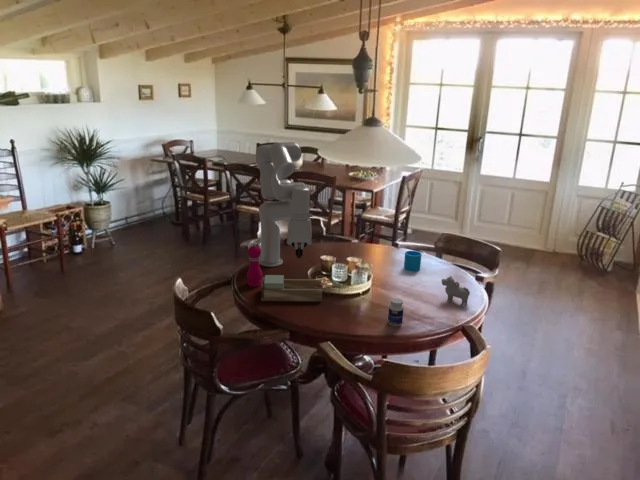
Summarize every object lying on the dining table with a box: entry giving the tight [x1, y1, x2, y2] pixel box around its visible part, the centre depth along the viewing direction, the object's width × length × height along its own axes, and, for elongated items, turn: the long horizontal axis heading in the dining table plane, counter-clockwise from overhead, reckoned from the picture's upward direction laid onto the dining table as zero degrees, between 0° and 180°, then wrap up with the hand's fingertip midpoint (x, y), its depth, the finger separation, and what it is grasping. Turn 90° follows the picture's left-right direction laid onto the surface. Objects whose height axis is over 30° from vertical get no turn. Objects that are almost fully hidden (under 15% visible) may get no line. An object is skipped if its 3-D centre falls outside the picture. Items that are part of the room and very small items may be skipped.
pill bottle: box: [387, 297, 404, 327], centre depth 207 cm, size 6×6×10 cm
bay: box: [260, 276, 323, 302], centre depth 230 cm, size 12×26×6 cm, turn 93°
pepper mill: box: [246, 242, 264, 288], centre depth 239 cm, size 7×7×20 cm
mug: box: [403, 250, 422, 272], centre depth 267 cm, size 12×8×8 cm
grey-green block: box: [264, 274, 285, 289], centre depth 229 cm, size 9×8×6 cm
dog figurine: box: [441, 275, 471, 307], centre depth 229 cm, size 5×13×11 cm, turn 54°
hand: (298, 257), depth 226 cm, fingers closed
